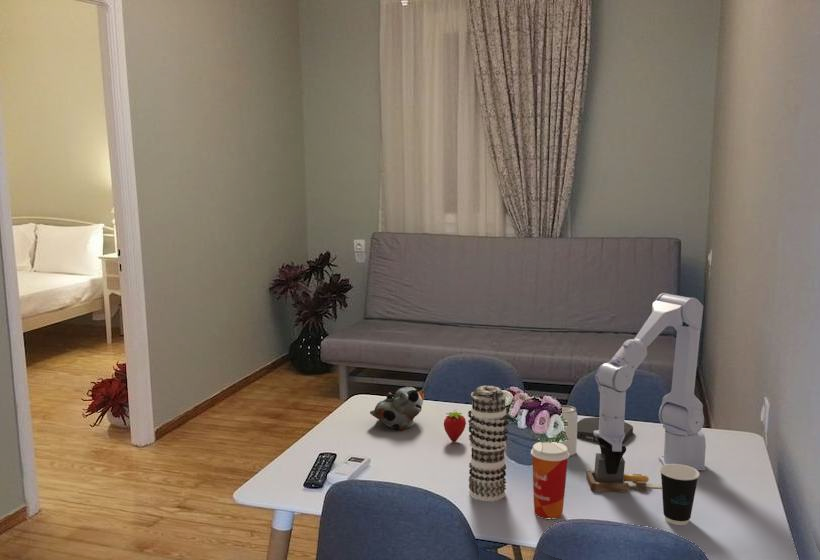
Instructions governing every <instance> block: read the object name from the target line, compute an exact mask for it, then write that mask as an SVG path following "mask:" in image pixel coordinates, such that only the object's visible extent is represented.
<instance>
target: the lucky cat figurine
mask: <svg viewBox="0 0 820 560" xmlns="http://www.w3.org/2000/svg"><path fill="white" fill-rule="evenodd" d="M424 391H425V390H424V389H423V390H422V389H421V390H418V389H417V388H415V387H412V386H405V387H401V388H399V389H397V390H396V391H395V394H394V396H393V393H391V392H390V391H389V392H388V393H387V394H386V398H385V399H384V400H383V399H382V400H381V401H379V402H378V403H377V404H376V405H375V407H374V410H371V411H369V414H370V415H371V416H373V417H374V418H376V419H377V420H379V421H380V422H381V423H383V424H384V425H385V426H387V427H389V428H391V429H395V428H396V430H397V431H399V432H401V431H404V430H407V429H409V428H411V427H413V424H414V419H415V418H416V417H417V416H418V415H419V414H420V413H421V412H422V410H423V409H422V407H423V403H424V400H425V399H424V398H425V397H424V395H425V394H424Z"/></svg>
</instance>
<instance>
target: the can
mask: <svg viewBox="0 0 820 560" xmlns="http://www.w3.org/2000/svg"><path fill="white" fill-rule="evenodd" d="M560 406H561V408H562V415H563V419H567V421H568V426H567V427H564V430H565V432H566V434H567V436H568V439H569V440H568V441H565V442H559V443H561V444H563V445H565V446H566V447H567V449H568V452H569V454H570V456H569V457H571V456H574V455H576V453H577V446H578V445H577V442H578V438H577V422H578V413H577V408H576V407H574V406H571V405H564V404H563V405H560Z"/></svg>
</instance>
